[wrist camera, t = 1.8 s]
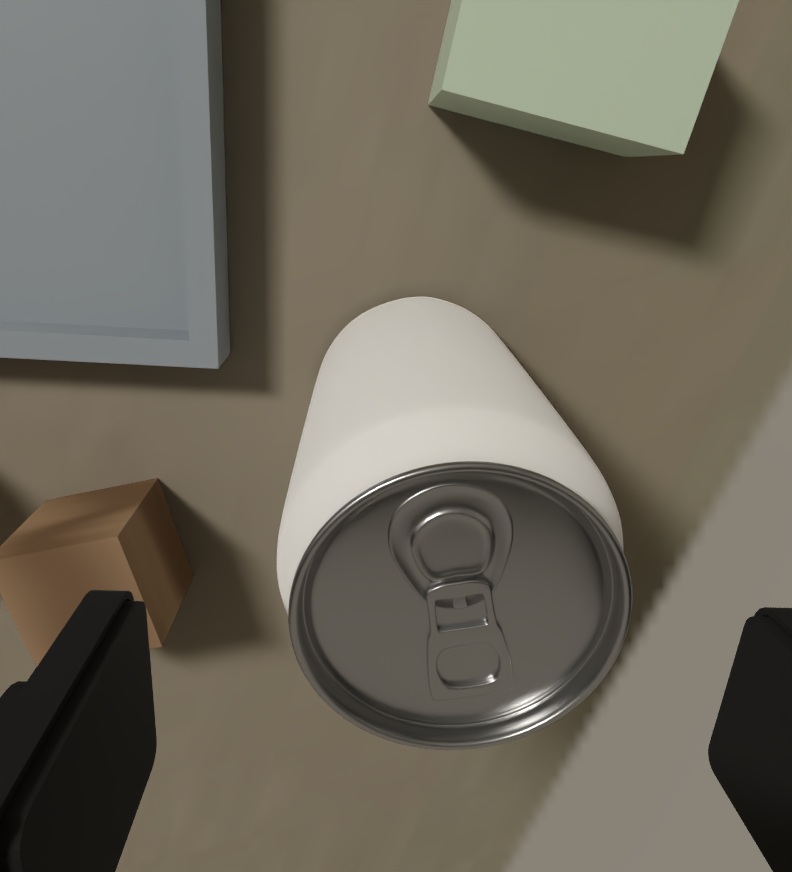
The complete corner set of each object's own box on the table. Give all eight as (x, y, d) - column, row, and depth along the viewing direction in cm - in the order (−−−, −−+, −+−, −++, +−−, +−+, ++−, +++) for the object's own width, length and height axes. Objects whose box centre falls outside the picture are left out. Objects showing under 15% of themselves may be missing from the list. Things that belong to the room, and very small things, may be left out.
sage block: (674, 2, 18) (753, -40, 14) (624, 157, 20) (683, 154, 16) (464, -59, 17) (490, -121, 14) (427, 105, 19) (441, 89, 15)
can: (503, 277, 21) (660, 404, 9) (520, 465, 23) (662, 741, 12) (298, 311, 21) (215, 473, 10) (336, 494, 23) (306, 792, 12)
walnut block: (158, 477, 23) (117, 536, 19) (194, 574, 24) (162, 646, 21) (46, 499, 23) (-16, 561, 19) (89, 594, 24) (38, 669, 21)
